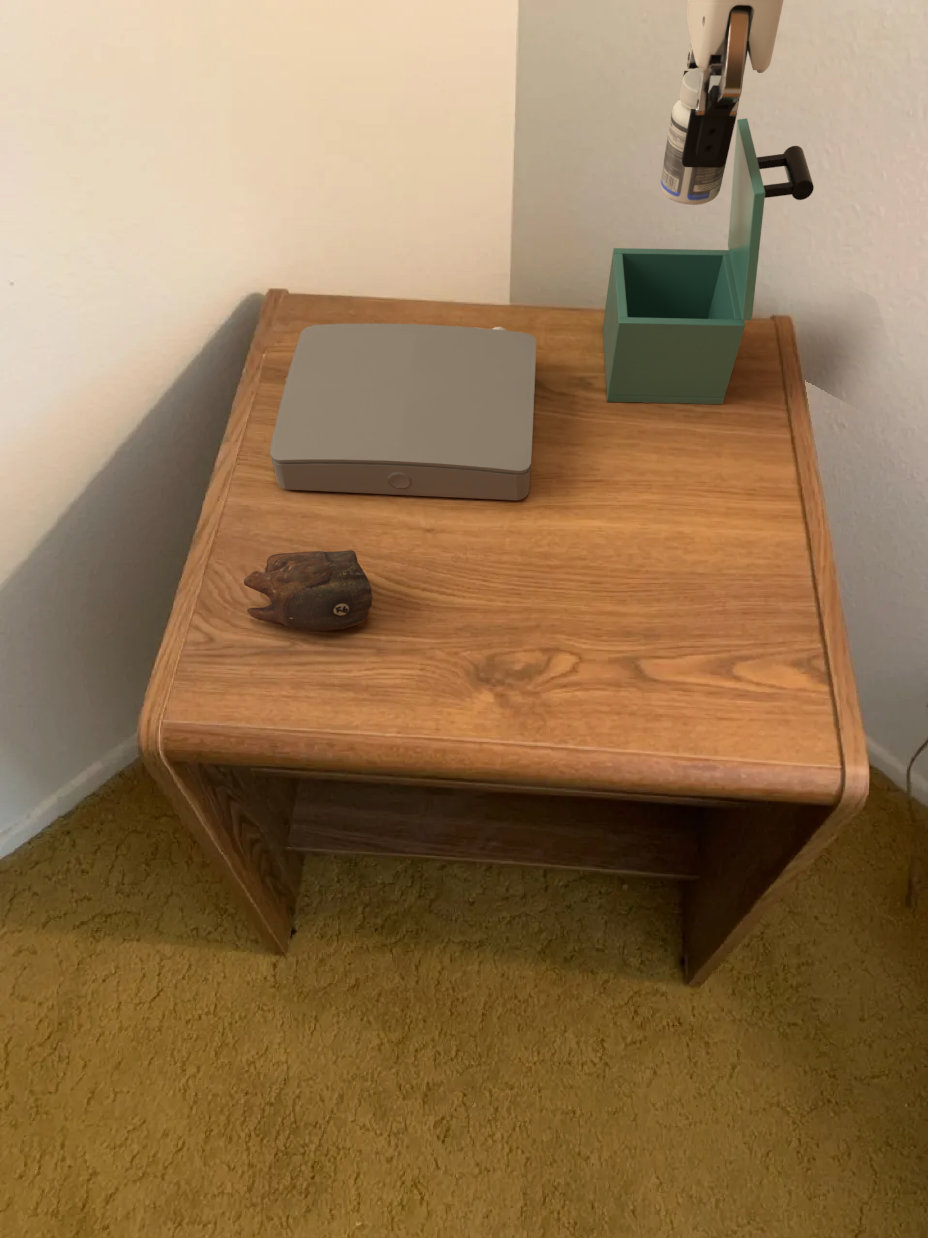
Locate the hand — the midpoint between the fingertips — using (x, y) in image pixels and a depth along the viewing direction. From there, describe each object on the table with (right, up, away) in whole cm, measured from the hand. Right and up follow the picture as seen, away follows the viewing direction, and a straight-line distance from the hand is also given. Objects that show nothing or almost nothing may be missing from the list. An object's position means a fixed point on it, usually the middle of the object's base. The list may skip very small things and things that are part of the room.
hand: (699, 142), depth 70 cm
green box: (+1, -12, +18) cm, 21 cm away
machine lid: (+5, -4, +5) cm, 8 cm away
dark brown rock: (-30, -36, +2) cm, 46 cm away
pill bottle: (0, -2, +3) cm, 4 cm away
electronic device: (-23, -18, +14) cm, 32 cm away
